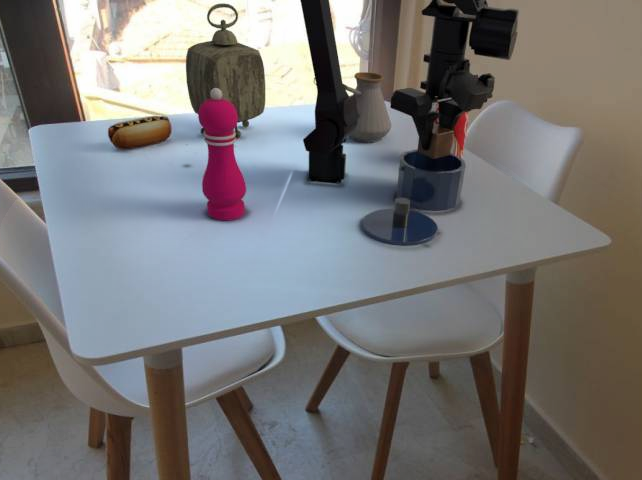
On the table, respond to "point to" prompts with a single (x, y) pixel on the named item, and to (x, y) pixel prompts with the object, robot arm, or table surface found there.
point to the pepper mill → (221, 159)
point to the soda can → (458, 134)
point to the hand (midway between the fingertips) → (434, 147)
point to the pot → (430, 180)
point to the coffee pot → (369, 108)
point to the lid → (400, 225)
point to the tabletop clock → (226, 72)
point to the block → (438, 143)
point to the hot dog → (139, 132)
